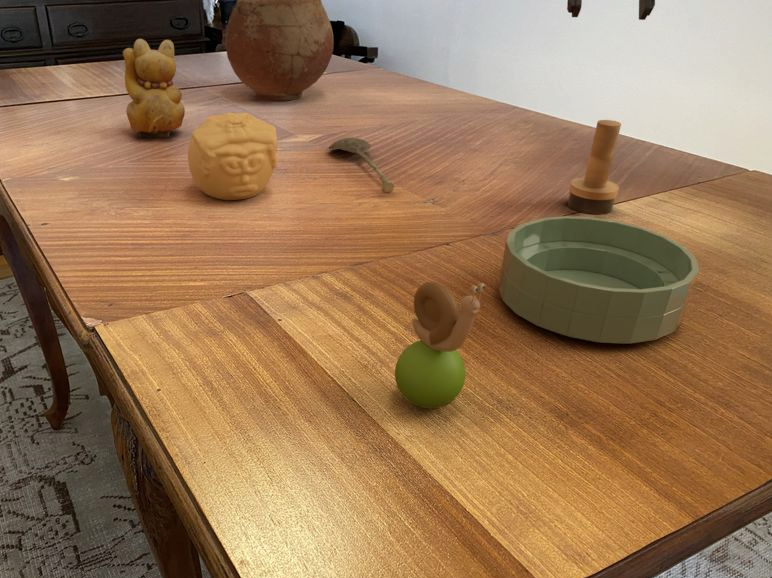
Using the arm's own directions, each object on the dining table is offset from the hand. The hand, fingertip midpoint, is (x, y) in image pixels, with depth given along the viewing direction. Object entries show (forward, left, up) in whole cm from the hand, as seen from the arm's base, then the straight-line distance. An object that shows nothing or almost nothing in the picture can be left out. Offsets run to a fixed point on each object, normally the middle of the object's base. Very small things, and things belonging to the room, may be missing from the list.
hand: (610, 14), depth 92 cm
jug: (+48, -47, -22) cm, 71 cm away
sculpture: (+49, +11, -22) cm, 55 cm away
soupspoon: (+31, -1, -22) cm, 38 cm away
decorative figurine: (+66, -16, -22) cm, 72 cm away
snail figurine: (+26, +58, -22) cm, 67 cm away
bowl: (+9, +40, -22) cm, 46 cm away
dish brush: (+1, +12, -22) cm, 25 cm away
